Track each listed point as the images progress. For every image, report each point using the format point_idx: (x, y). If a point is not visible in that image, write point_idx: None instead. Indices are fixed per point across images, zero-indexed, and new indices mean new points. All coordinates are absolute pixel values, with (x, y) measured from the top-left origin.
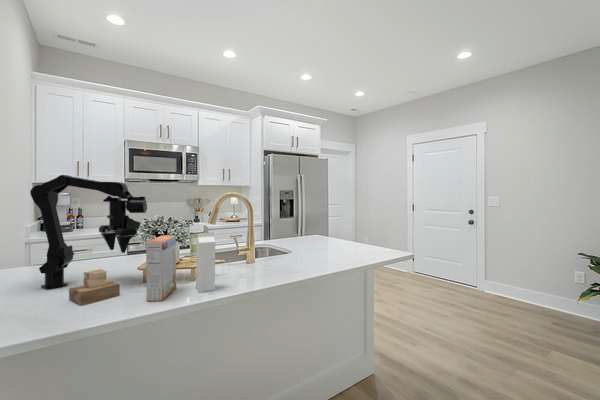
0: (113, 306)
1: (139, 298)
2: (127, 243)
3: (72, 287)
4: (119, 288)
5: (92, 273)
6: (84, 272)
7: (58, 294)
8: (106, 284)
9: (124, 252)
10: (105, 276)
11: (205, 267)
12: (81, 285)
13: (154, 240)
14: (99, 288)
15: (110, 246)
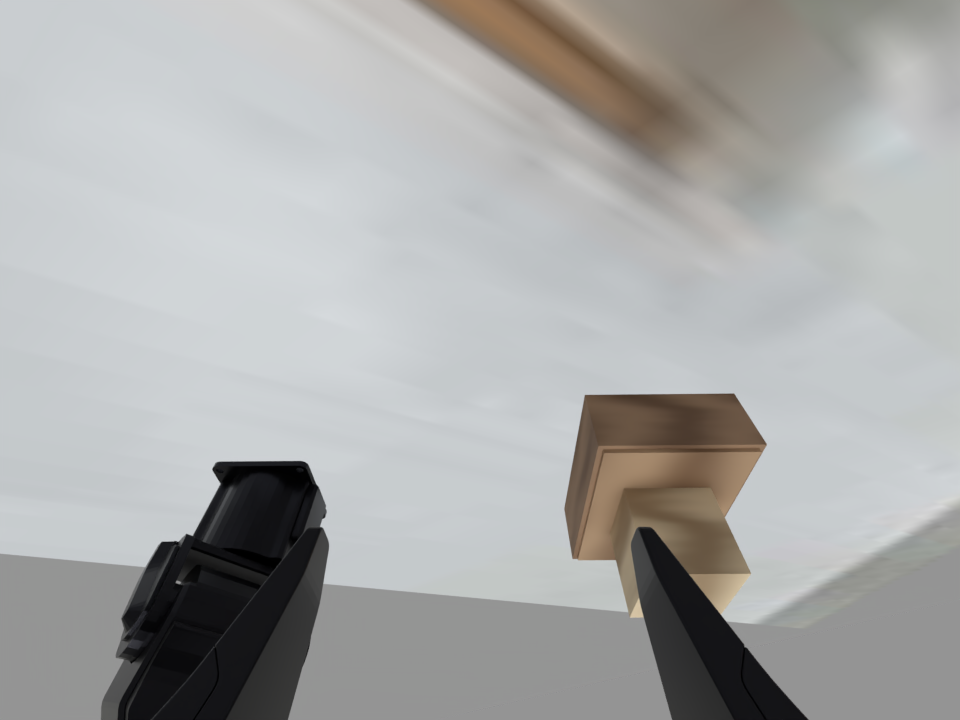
0: (832, 459)
1: (900, 361)
2: (759, 675)
3: (584, 557)
4: (753, 424)
5: (718, 611)
6: (641, 615)
7: (441, 507)
8: (701, 484)
9: (649, 531)
10: (731, 540)
11: None
12: (588, 535)
13: None
14: (724, 515)
15: (317, 602)
